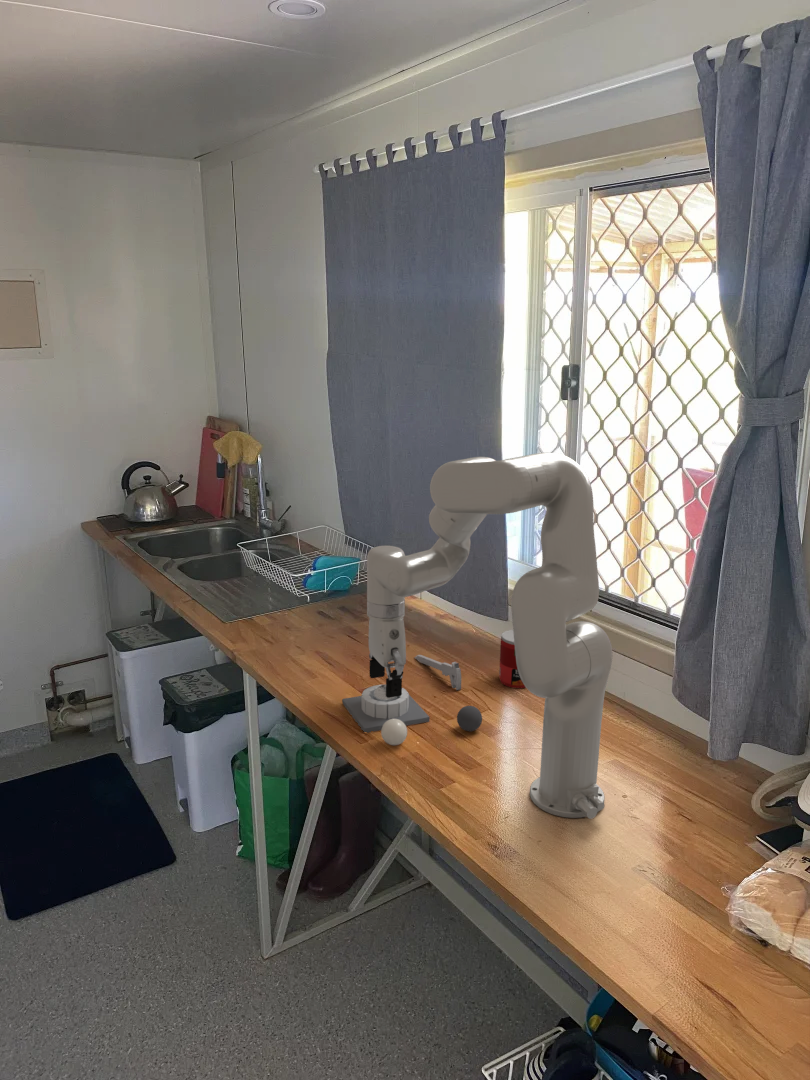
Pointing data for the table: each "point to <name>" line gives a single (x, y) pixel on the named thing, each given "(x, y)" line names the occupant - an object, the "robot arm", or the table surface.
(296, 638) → the table surface
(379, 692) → the steel ball
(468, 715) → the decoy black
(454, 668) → the caliper
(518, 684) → the canned food
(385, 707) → the housing
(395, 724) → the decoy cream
